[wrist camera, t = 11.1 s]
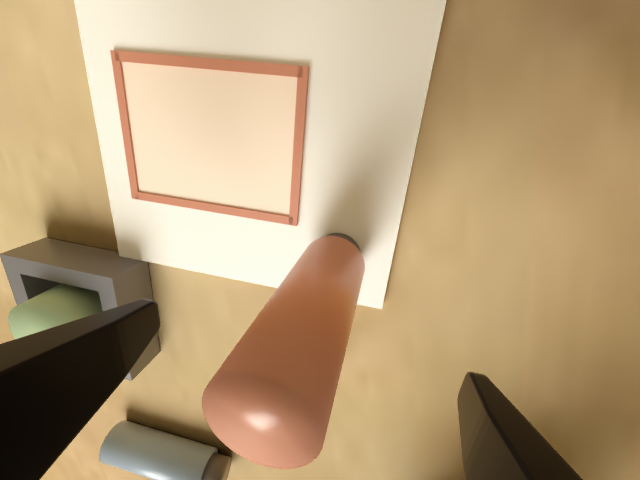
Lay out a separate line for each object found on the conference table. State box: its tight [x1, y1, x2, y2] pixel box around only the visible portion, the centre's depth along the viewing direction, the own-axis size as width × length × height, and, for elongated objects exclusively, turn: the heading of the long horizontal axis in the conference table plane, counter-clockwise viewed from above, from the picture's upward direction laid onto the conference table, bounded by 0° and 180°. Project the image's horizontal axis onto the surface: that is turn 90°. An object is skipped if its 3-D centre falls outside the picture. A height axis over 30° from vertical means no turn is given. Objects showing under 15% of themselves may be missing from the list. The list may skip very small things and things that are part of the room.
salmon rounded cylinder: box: [202, 233, 365, 469], centre depth 11 cm, size 3×3×9 cm
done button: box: [8, 283, 103, 339], centre depth 17 cm, size 4×4×2 cm
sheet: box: [74, 0, 446, 309], centre depth 14 cm, size 15×13×1 cm
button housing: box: [0, 238, 160, 381], centre depth 19 cm, size 7×7×2 cm
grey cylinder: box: [99, 420, 231, 480], centre depth 23 cm, size 9×3×3 cm
